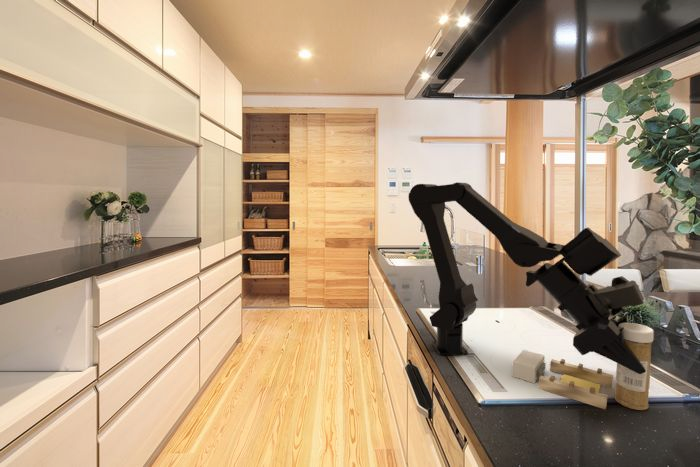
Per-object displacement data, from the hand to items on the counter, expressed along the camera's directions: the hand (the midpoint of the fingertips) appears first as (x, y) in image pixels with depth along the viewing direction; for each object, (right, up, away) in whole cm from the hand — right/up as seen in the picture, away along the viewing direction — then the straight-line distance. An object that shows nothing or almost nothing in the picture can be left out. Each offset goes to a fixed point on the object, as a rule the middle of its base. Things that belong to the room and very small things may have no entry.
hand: (643, 367), depth 57 cm
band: (-6, -6, +7) cm, 11 cm away
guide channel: (-7, -6, +7) cm, 12 cm away
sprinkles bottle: (-1, -7, +2) cm, 7 cm away
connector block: (-13, -6, +12) cm, 19 cm away
